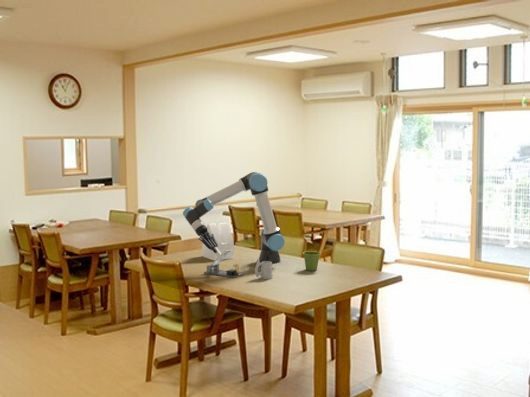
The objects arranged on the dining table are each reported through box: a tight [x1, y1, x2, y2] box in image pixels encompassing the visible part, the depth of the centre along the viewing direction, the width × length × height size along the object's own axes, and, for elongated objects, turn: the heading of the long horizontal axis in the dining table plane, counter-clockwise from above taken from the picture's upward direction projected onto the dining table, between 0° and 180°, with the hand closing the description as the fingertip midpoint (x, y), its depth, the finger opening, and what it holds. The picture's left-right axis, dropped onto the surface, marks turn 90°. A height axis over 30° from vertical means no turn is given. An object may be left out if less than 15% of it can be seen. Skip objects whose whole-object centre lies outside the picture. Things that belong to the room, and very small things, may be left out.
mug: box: [254, 259, 274, 280], centre depth 375 cm, size 8×12×12 cm, turn 116°
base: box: [203, 263, 245, 279], centre depth 386 cm, size 24×10×7 cm, turn 57°
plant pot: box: [302, 250, 322, 272], centre depth 399 cm, size 12×12×11 cm
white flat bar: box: [210, 249, 230, 269], centre depth 387 cm, size 18×5×2 cm
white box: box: [201, 221, 235, 262], centre depth 439 cm, size 19×15×25 cm
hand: (220, 256), depth 387 cm, fingers closed
